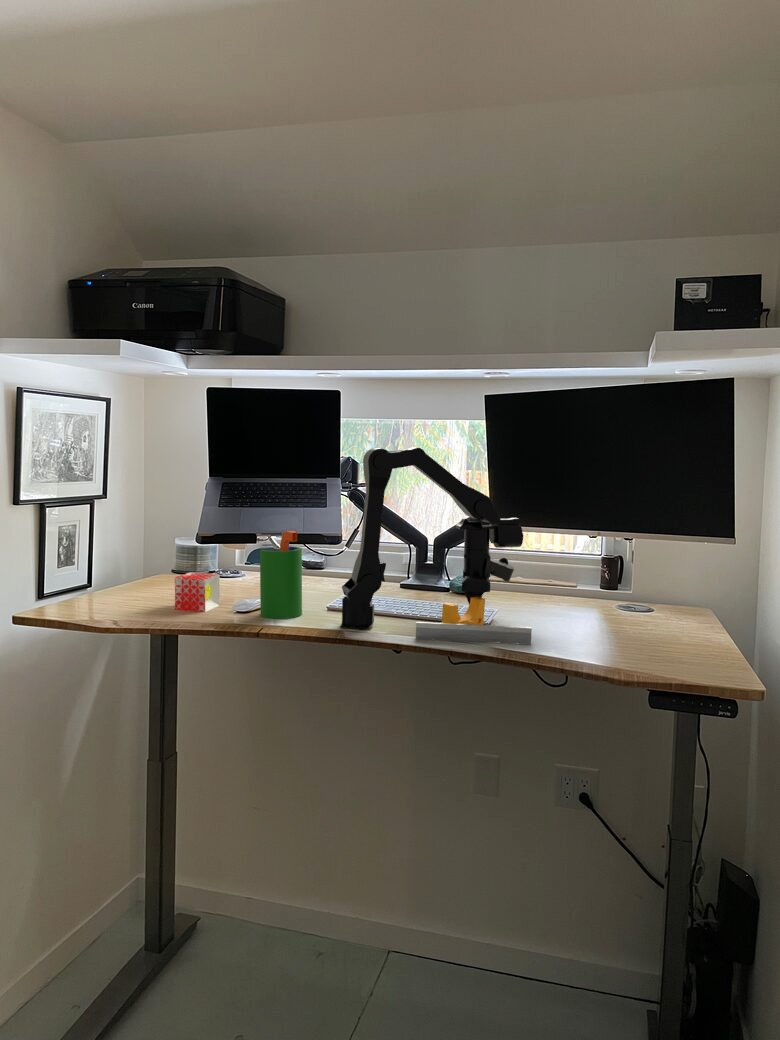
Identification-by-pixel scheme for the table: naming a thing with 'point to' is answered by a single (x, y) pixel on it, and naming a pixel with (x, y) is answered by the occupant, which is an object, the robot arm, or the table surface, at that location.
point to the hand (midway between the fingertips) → (475, 614)
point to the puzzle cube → (197, 592)
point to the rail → (473, 632)
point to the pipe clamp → (471, 616)
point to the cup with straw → (281, 580)
